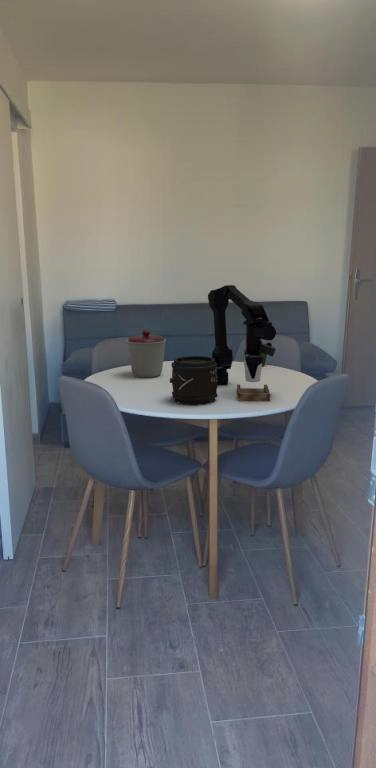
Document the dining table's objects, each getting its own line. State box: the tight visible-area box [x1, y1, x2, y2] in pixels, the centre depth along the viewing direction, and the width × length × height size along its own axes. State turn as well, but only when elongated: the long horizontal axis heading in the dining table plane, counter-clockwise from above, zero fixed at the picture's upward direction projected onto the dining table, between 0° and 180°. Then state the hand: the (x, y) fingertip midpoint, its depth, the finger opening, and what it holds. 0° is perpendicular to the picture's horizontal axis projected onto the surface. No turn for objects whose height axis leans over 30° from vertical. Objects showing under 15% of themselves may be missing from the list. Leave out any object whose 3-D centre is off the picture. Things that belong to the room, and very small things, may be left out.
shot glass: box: [244, 361, 263, 383], centre depth 230 cm, size 7×7×7 cm
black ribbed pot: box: [169, 355, 218, 406], centre depth 224 cm, size 18×18×16 cm
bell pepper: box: [260, 353, 268, 367], centre depth 289 cm, size 8×8×10 cm
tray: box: [236, 384, 271, 402], centre depth 230 cm, size 12×16×3 cm
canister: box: [125, 329, 167, 378], centre depth 267 cm, size 18×18×21 cm
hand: (252, 376), depth 231 cm, fingers closed on shot glass, 6 cm apart
